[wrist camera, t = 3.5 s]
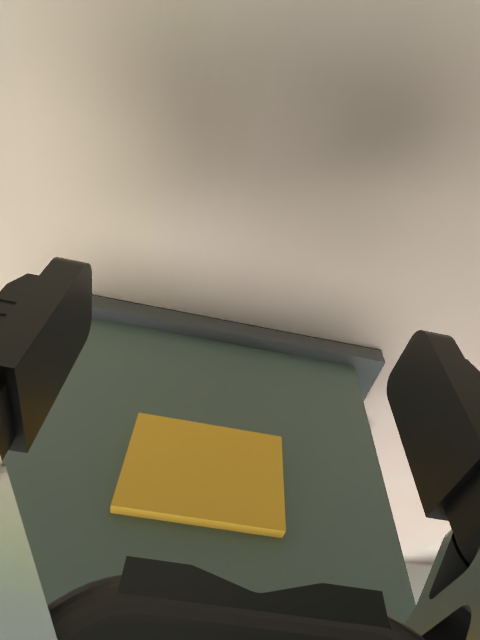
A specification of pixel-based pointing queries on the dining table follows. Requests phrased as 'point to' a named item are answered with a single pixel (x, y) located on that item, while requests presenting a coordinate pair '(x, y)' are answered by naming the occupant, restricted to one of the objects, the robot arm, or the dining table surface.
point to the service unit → (210, 459)
